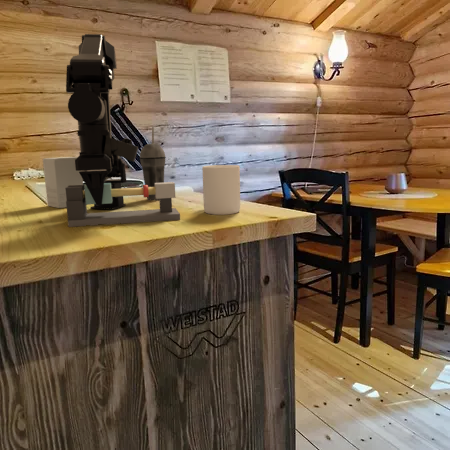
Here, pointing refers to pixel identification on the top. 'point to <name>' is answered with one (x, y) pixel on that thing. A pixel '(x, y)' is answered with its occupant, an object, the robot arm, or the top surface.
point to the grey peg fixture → (82, 218)
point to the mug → (221, 189)
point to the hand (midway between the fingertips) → (99, 203)
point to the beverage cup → (152, 164)
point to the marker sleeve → (106, 195)
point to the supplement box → (60, 179)
